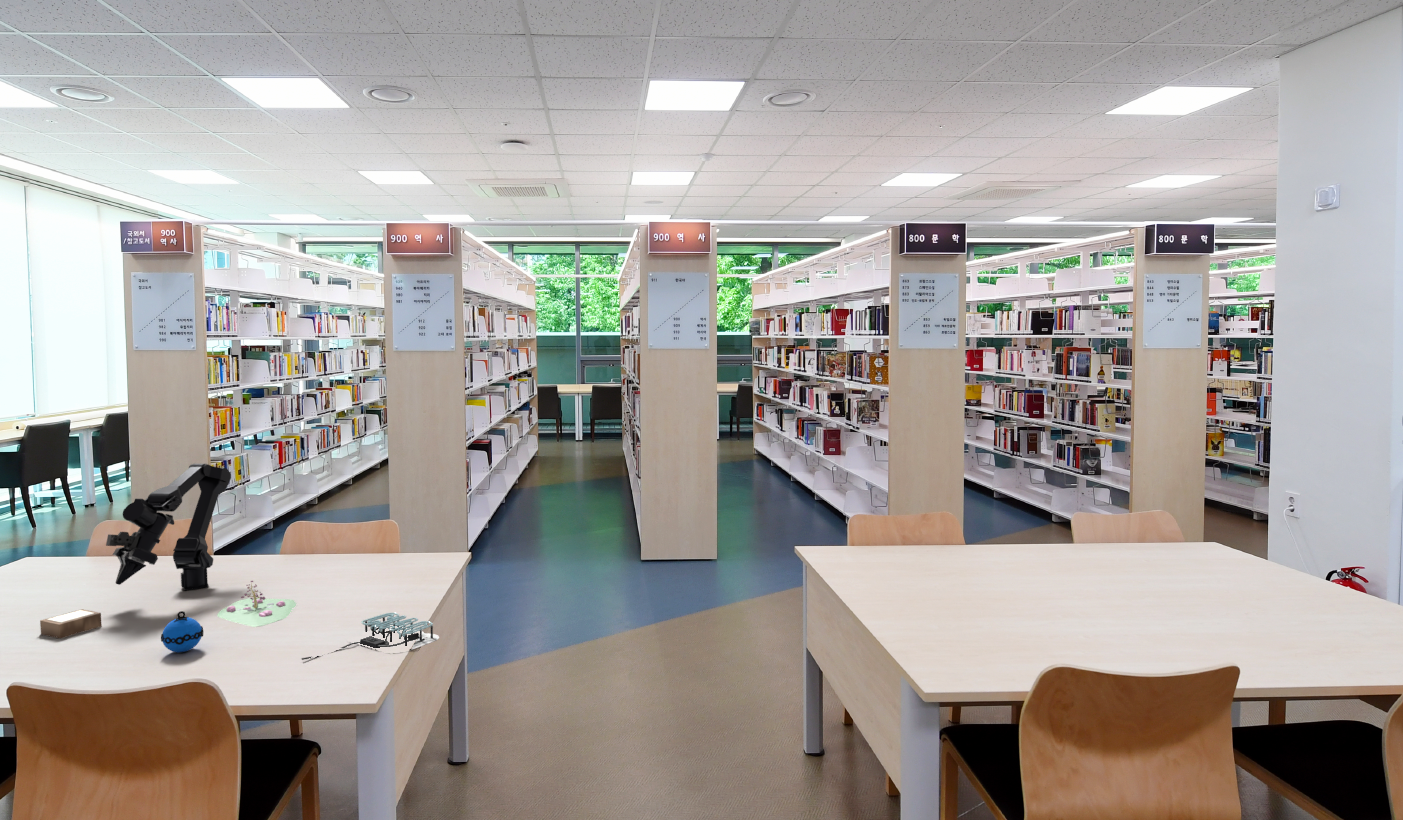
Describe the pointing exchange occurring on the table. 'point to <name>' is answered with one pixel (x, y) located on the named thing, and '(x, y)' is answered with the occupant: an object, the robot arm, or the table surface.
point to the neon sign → (386, 624)
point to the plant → (257, 610)
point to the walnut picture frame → (70, 623)
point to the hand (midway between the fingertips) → (117, 584)
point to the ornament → (182, 634)
